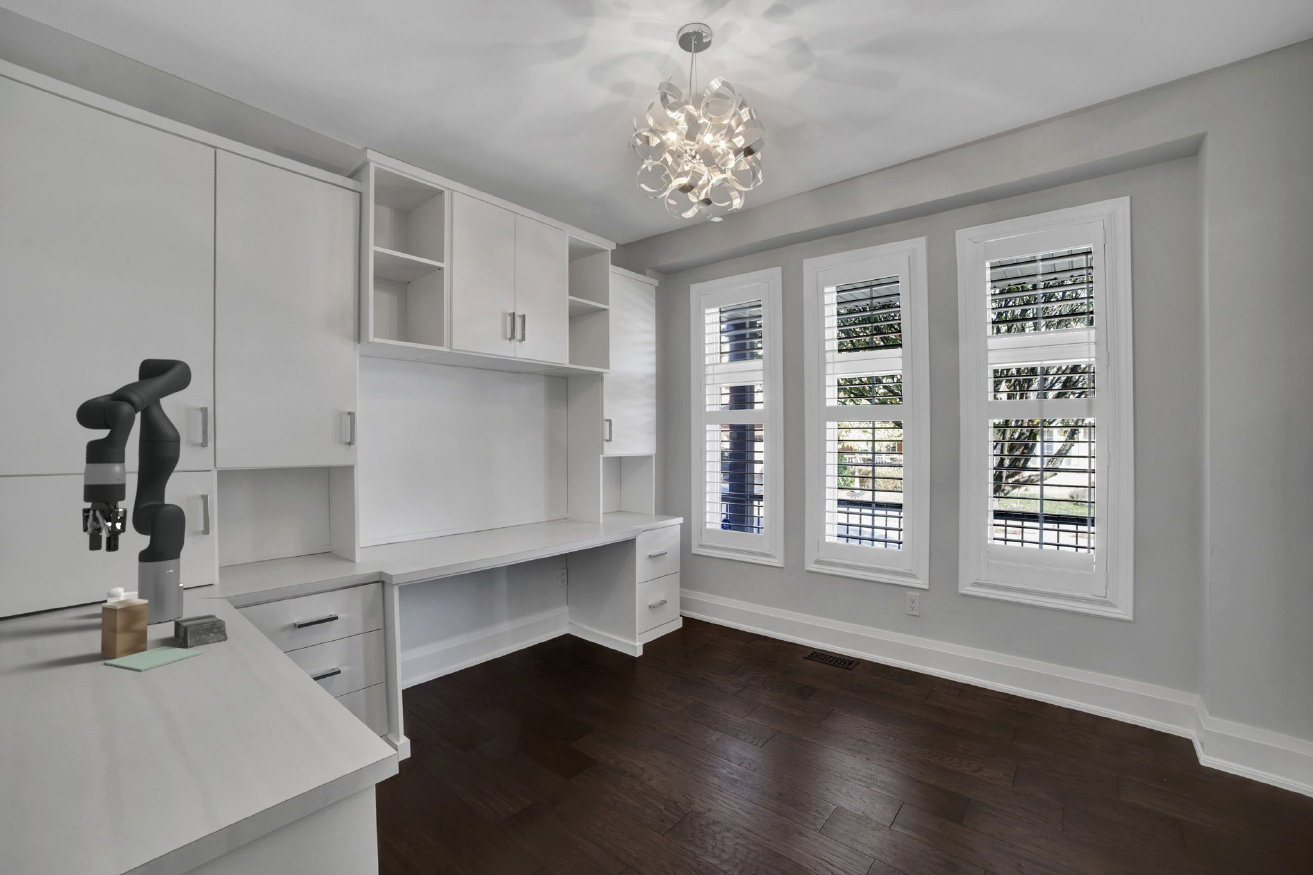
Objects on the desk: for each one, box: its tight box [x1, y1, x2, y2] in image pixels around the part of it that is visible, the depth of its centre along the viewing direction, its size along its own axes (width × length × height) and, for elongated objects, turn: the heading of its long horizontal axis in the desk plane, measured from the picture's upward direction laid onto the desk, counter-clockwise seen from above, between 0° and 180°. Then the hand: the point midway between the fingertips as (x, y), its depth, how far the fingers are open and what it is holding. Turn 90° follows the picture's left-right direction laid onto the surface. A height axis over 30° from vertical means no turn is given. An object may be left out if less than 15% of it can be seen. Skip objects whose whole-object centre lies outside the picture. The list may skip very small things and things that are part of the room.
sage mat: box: [103, 645, 203, 672], centre depth 135 cm, size 12×14×1 cm
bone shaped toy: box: [106, 586, 138, 603], centre depth 179 cm, size 15×9×8 cm, turn 126°
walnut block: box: [100, 598, 148, 660], centre depth 139 cm, size 6×6×12 cm
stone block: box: [173, 614, 228, 649], centre depth 150 cm, size 9×14×5 cm, turn 49°
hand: (103, 550), depth 143 cm, fingers open, 6 cm apart
